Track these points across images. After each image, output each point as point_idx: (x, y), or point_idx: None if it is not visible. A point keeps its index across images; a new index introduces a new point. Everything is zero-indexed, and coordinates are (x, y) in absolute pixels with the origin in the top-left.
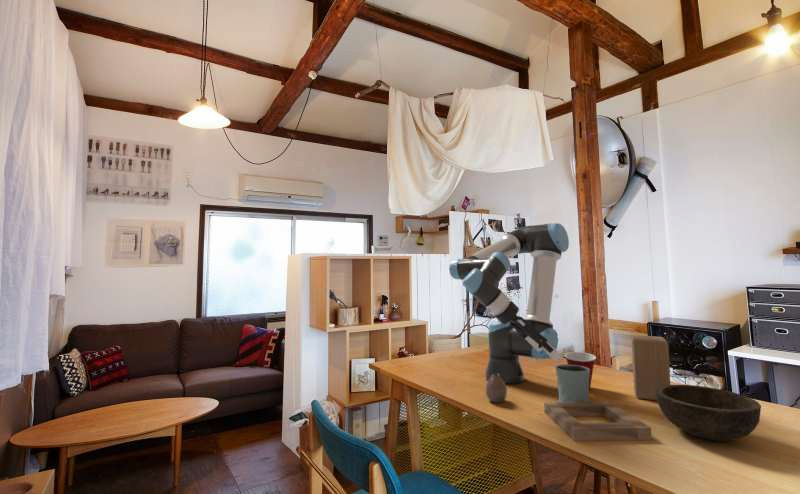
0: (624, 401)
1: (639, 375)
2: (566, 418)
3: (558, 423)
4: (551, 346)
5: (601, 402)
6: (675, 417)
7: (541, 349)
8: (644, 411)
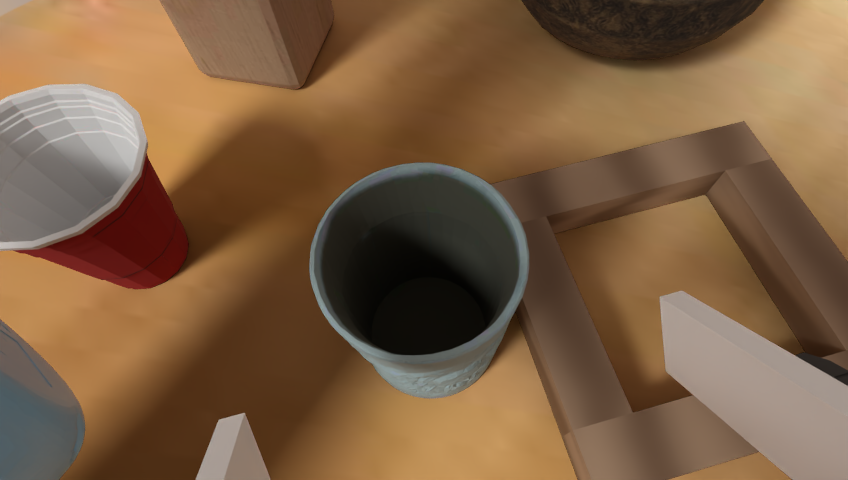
0: (339, 135)
1: (282, 5)
2: None
3: None
4: (795, 364)
5: None
6: (720, 33)
7: (259, 456)
8: (443, 103)
